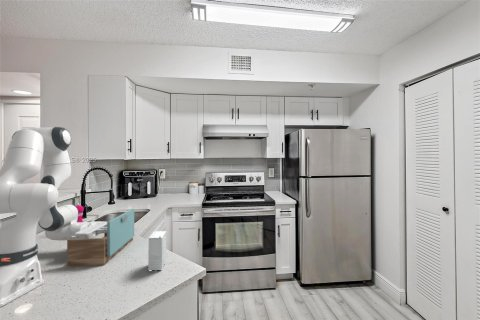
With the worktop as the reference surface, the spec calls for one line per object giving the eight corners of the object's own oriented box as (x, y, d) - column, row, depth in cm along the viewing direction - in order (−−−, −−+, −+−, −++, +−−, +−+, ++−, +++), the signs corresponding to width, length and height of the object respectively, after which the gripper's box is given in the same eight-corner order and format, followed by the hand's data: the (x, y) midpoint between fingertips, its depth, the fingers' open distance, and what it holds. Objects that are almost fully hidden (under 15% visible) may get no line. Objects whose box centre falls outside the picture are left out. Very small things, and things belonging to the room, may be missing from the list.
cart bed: (104, 265, 102) (104, 238, 102) (67, 266, 101) (67, 240, 101) (133, 239, 134) (132, 219, 134) (105, 240, 133) (105, 220, 133)
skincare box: (153, 263, 103) (153, 231, 103) (166, 262, 104) (166, 230, 104) (147, 272, 95) (147, 237, 95) (162, 271, 96) (162, 236, 96)
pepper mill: (69, 234, 144) (68, 203, 144) (81, 231, 150) (81, 201, 150) (75, 236, 140) (74, 204, 140) (87, 233, 147) (87, 202, 147)
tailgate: (111, 256, 104) (111, 222, 104) (107, 256, 104) (107, 222, 104) (135, 235, 132) (135, 208, 132) (132, 235, 132) (132, 208, 132)
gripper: (67, 231, 106) (98, 230, 107) (93, 219, 127) (118, 219, 128) (67, 244, 106) (98, 243, 107) (93, 230, 127) (118, 230, 128)
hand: (109, 230), depth 118 cm, fingers closed
